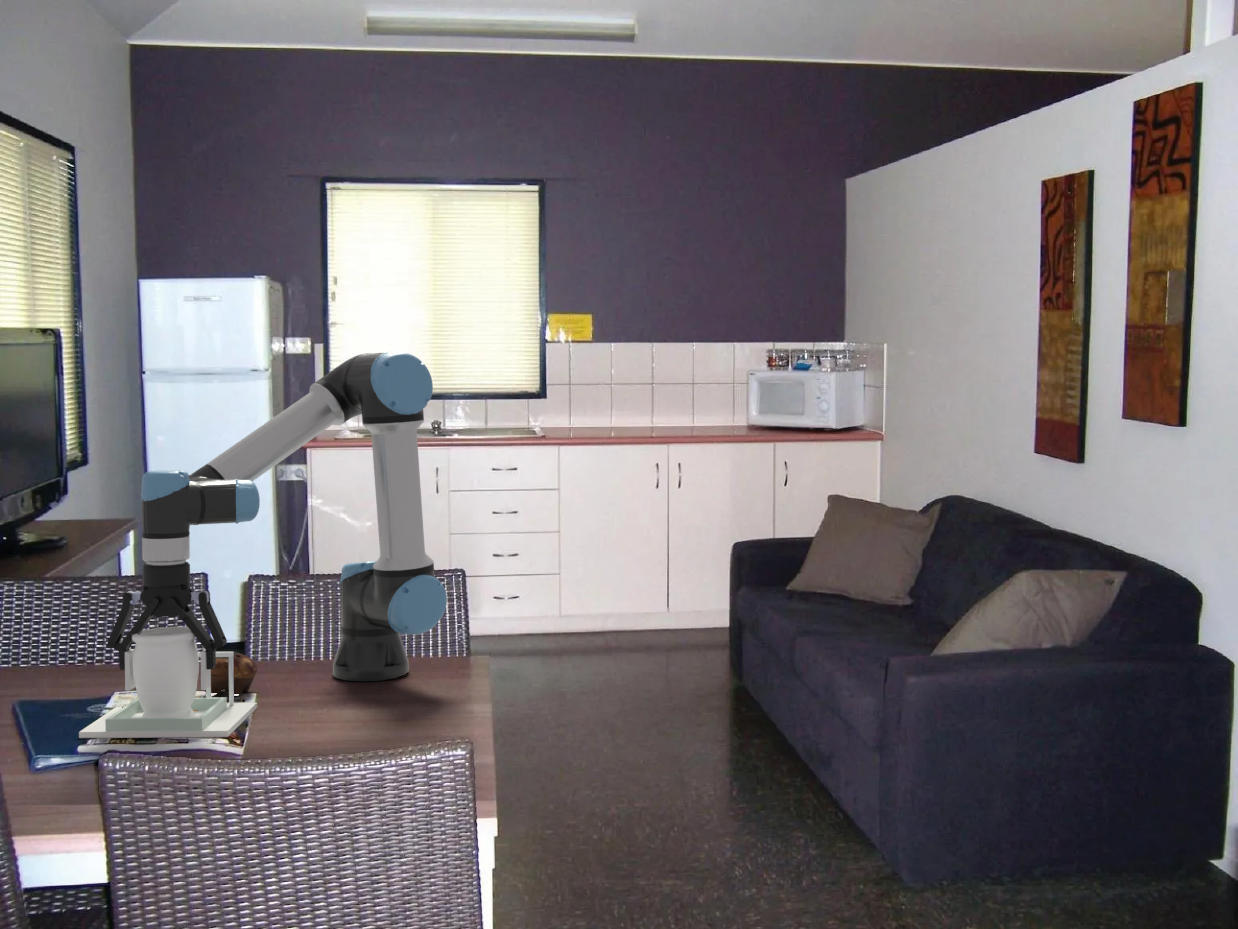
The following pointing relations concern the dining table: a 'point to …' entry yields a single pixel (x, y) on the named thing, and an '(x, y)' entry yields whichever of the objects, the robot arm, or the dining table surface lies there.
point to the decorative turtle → (241, 669)
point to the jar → (166, 671)
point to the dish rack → (206, 722)
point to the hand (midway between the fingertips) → (168, 688)
